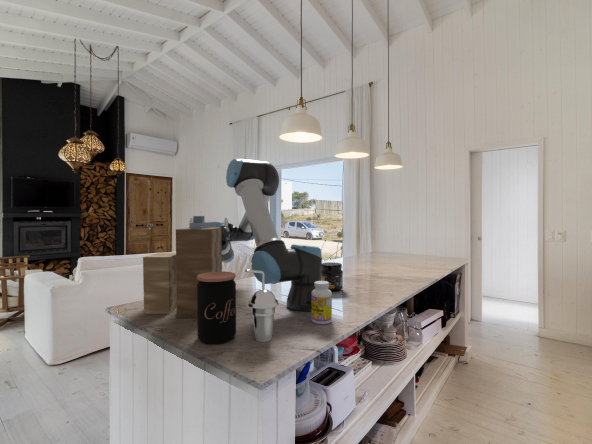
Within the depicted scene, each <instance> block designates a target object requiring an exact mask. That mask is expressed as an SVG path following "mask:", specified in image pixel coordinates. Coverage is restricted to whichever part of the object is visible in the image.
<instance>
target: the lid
mask: <svg viewBox="0 0 592 444" xmlns="http://www.w3.org/2000/svg"><path fill="white" fill-rule="evenodd" d="M192 218H193V223H190V225H189V227H190V229H205V228H211V227H216V222H217V221H205V215H194V216H192Z"/></svg>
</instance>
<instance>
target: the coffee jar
mask: <svg viewBox="0 0 592 444" xmlns="http://www.w3.org/2000/svg"><path fill="white" fill-rule="evenodd" d="M236 276H237V275H236V273H234V272H232V271H222V272H207V273H202V274H199V275H197V280H198V281H199V282H198V284H197V318H196V319H197V320H196V321H197V322H196V323H197V324H196V325H197V339H198V340H199V341H200V342H201V343H203V344H205V345H220V344H226V343H228V342H230V341H232V340H234V337H235V335H237V292H236V291H237V290H236V289H237V288H236V287H237V286H236V284H237V283H236V281H235V278H236Z"/></svg>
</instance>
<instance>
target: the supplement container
mask: <svg viewBox="0 0 592 444" xmlns="http://www.w3.org/2000/svg"><path fill="white" fill-rule="evenodd" d="M342 269H343V264H342V263H341V262H334V261H333V262H331V261H330V262H327V261H326V262H322V281H327V282H329V287H328V289H329V290H330V291H331V292H332V293H337V292H338V293H339V292H341V291H342V290H343V288H344V286H343V285H344V284H343V282H344V281H343V279H344V278H343V274H344V271H343V270H342Z"/></svg>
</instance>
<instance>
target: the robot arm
mask: <svg viewBox="0 0 592 444" xmlns="http://www.w3.org/2000/svg"><path fill="white" fill-rule="evenodd" d="M225 181H226V185H227V187H229V188H231V189H233V188H234V191H235V194H236V195H237V196H239V197H240V199H241V200H242V201H241V202H242V203H243V204H242V205H243V207H244V210H245V212H244V214H243V217H242V219H241V220H240V222H239V225H236V226H234V224H233V223H230V222H229V220H228V218H227V217H224V221H223V222H222V221H215V222H216V227H221V231H222V263H225V264H226V263H230V262H232V261H233V259H234V258H235V253H234V250H233V248H232V243H231V242H248V241H253V240H254V243H255V248H254V250H253V254H252V256H251V260H250V261H251V266H250V267H251V270H258V271H263V272H264V275H265V285H274V284H280V283H284V282H285V283H286V282H290V283H291V285H290V288H289V291H288V295H287V298H286V307H287V308H288V309H290V310H294V311H300V312H311V293H312V291H313V290H314V289H315V286H314V283H315V282H316V281H322V263H323V257H322V256H323V255H322V249H321V248H320V247H319V246H315V245H314V246H313V245H307V244H306V245H305V244H295V243H293V244H291V246H290V248H287V247H286V246H287V245H286V243H285V241H284V240H282V239H279V236H278V234H277V230H276V227H275V224H274V222H273V218H272V215H271V213H270V210H269V207H268V204H269V202H270V199H271V197H273V196H275V194H276V192H277V191H278V188H279V185H280V176H279V173H278V170H277V168H276V167H275V166H274V165H273V164H272V163H270V162H268V161H265V160H256V159H255V160H254V159H244V158H233V159H232V160H230V162H229V164H228V165H227V169H226V175H225ZM190 223H193V217H190V218H189V222H188V225H189V227H188V228H190ZM253 276H254V277H255V278H256V279H257V281H258V282H259V283H261V284H262V274H261V273H253Z"/></svg>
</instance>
